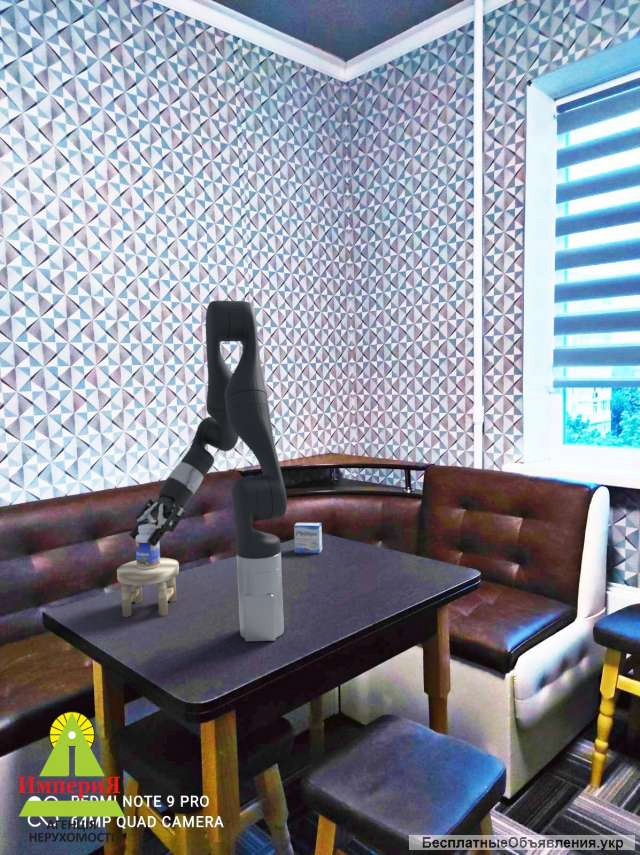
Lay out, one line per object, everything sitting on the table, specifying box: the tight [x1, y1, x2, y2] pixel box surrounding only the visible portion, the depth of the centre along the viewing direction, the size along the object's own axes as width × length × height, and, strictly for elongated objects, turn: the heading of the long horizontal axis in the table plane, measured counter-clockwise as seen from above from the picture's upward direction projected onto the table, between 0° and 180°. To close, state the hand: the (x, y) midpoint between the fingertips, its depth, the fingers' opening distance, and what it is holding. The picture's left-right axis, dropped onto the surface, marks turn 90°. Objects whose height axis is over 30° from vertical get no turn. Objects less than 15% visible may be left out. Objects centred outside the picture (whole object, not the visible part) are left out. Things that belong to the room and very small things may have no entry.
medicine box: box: [293, 522, 323, 554], centre depth 185 cm, size 8×4×9 cm, turn 81°
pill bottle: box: [135, 523, 161, 569], centre depth 142 cm, size 5×5×10 cm
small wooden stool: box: [116, 557, 180, 618], centre depth 143 cm, size 14×14×10 cm
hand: (141, 541), depth 141 cm, fingers open, 8 cm apart
